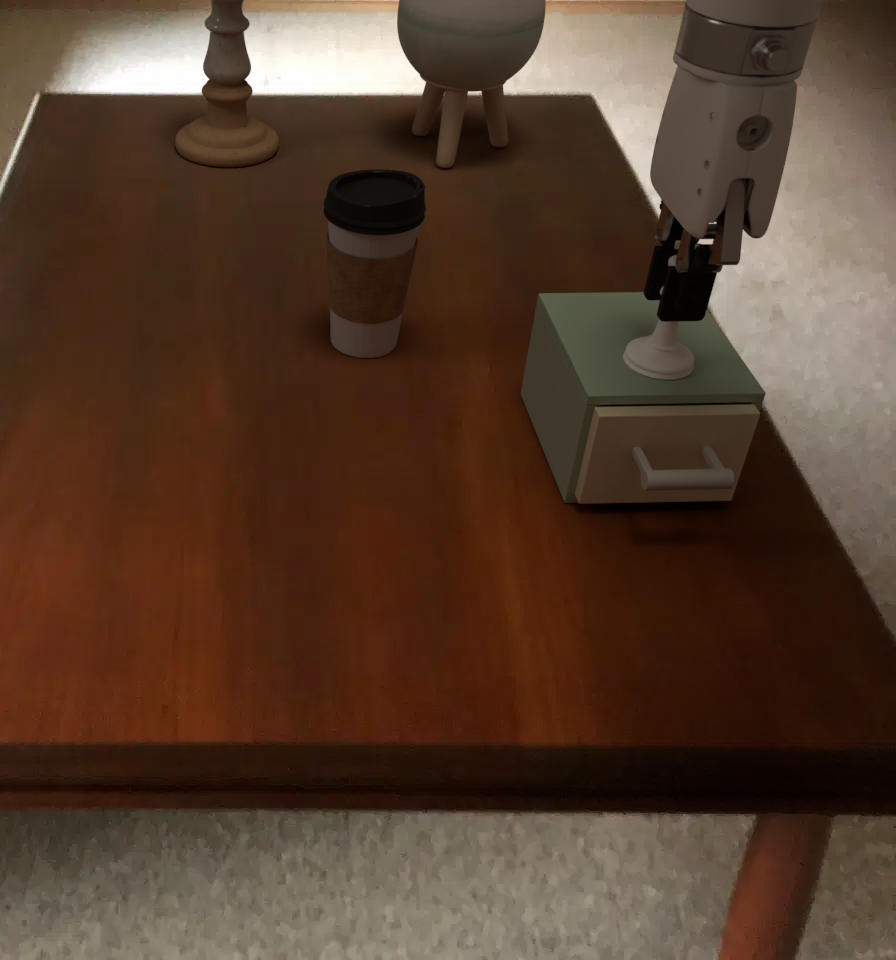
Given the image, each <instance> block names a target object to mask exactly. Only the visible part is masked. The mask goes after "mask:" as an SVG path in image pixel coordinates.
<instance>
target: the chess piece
mask: <svg viewBox="0 0 896 960" xmlns="http://www.w3.org/2000/svg"><path fill="white" fill-rule="evenodd" d="M700 244H701V243H699V242H698V243H696V244H695V248H696V247H698V246H699V245H700ZM679 245H680V241H678V240H676V242H675V246H674V249H679ZM695 248H694V249H695ZM676 257H677V255H674V256H672V257H670V258H669V260H668V266H675V262H676ZM663 287H664V286H663ZM663 287H662V288H661V289H660V294H662V291H663ZM677 327H678V321H669V322H663V321H660V320H659V321H658V323H657V326H656V328H655V330H654V333H653V334H652V335H650V336H645V337H640V338H636V339H634V340H632V341H631V342H630V343H629V344H628V345H627V347H626V350H625V352H624V354H623V359H624V361H625V363H626V364H627V366H628V367H630V368H631V369H632V370H634V371H635V372H637V373H639V374H641V375H644V376H647V377H650V378H655V379H661V380H674V379H680V378H683V377H686V376H688V375H689V374H690V373H691V372H692V371H693V368H694V365H693V364H694V355H693V353H692V352H691V351H690V350H689V349H688V348H687V347H686V346H685V345H683V344H681V343H679V341H678V340H677V339H676V337H677Z"/></svg>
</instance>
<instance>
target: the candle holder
mask: <svg viewBox="0 0 896 960" xmlns="http://www.w3.org/2000/svg"><path fill="white" fill-rule="evenodd" d="M209 1H210V5H211V11H210V14H209V16H207V18H205V20H204V27H205V28H206V29H207V30H208V31H209V39H208V45H207V49H206V54H205V56H204V61H203V63H202V69H203V70H202V71H203V74H204V76H206V78H207V79H208V80H207V81H206V82H205V84H203V86H202V87H201V95H202V96H203V97H204V98H205V100H206V101H207V110H206V114H205V115H202V116H199V117H197V118H196V119H194V120H193V121H191V122H190V123H188V124H186V125H184V126H182V127H181V128H180V129H179V130H178V132H177V133H176V135H175V139H174V145H175V148H176V151H177V152H178V153H179V155H180V156H181V157H183V158H184V159H186V160H188V161H191V162H192V163H196V164H200V165H204V166H209V167H216V168H240V167H247V166H252V165H256V164H259V163H263V162H265V161H267V160H269V159H271V158H272V157H274V156H275V155H276V153H277V152H278V150H279V147H280V138H279V135H278V134H277V132H276V131H275V130H274V129H273V128H272V127H271V126H269V125H268V124H266V123H263V121H261V120H260V119H259V118H256V117H254V116H251V115H248V108H247V101H249V99H250V98H251V97H252V95H253V87H252V86H251V84H249V82H248V81H247V80H246V79H247V78H248V77H249V76H250V74H251V71H252V63H251V59H250V56H249V53H248V49H247V45H246V39H245V31H247V30H248V29H249V27H250V21H249V19H248V18H247V17H246V16H245V15H244V12H243V5H244V3H245V0H209Z"/></svg>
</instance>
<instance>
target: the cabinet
mask: <svg viewBox="0 0 896 960" xmlns="http://www.w3.org/2000/svg"><path fill="white" fill-rule="evenodd" d="M643 293H644V291H633V292H632V291H625V292H624V291H622V292H620V291H618V292H616V291H615V292H611V291H609V292H539V293H538V294H537V300H536V306H535V312H534V315H533V316H534V317H533V322H532V328H531V333H530V339H529V344H528V350H527V355H526V361H525V365H524V366H525V367H524V370H523V371H524V372H523V377H522V384H521V389H520V397H521V399H522V401H523V404H524V407H525V409H526V411H527V414H528V417H529V419H530V421H531V424H532V426H533V428H534V431H535V434H536V437H537V439H538V441H539V444H540V446H541V448H542V451H543V454H544V456H545V459H546V461H547V463H548V466H549V468H550V471H551V473H552V476H553V479H554V480H555V483H556V484H557V488H558V490H559V493H560V496H561V498H562V500H563V502H564V504H579V503H578V500H577V498H576V496H575V491H576V487H577V482H578V478H579V473H580V469H581V465H582V460H583V456H584V452H585V447H586V443H587V439H588V434H589V430H590V426H591V421H592V417H593V413H594V408H595V407H597V405H616V404H677V403H734V405H744V404H754V405H755V406H756V408H757V409H758V411H759V412H760V413H761V409H762V405H763V403H764V400H765V397H766V395H767V394H766V391H765V390H764V388H763V387H762V386H761V384H760V382H759V381H758V380H757V378H756V377H755V376H754V374H753V372H752V371H751V370H750V368H749V367H748V365H747V364H746V362H744V360H743V358H742V357H741V356H740V354H739V352H738V351H737V350H736V348H735V347H734V345H733V344H732V343H731V340H729V339H728V337H727V335H726V334H725V333H724V331H723V330H722V329H721V327H720V326H719V324H718V323H717V322H716V320H715V318H714V317H713V316H712V314H711V313H710V311H709V310H708V309H707V310H706V314H705V317H704V318H703V319H702V320H700V321H678V327H677V337H676V339H677V340H678V341H679V343H681V344H683V345H685V346H686V347H687V348H688V349H689V350H690V351H691V352H692V353H693V355H694V364H693V365H694V368H693V371H692V372H691V373H690V374H689V375H688V376H686V377H683V378H680V379H674V380H661V379H655V378H650V377H647V376H644V375H641V374H639V373H637V372H635V371H634V370H632V369H631V368H630V367H628V366H627V364H626V363H625V361H624V359H623V354H624V352H625V350H626V347H627V345H628V344H629V343H630V342H631V341H632V340H634V339H636V338H640V337H645V336H650V335H652V334H653V333H654V330H655V328H656V326H657V323H658V321H659V318H658V316H657V310H658V306H659V302H660V300H647V299H646V297H645V296H644V294H643Z"/></svg>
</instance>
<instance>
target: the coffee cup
mask: <svg viewBox="0 0 896 960" xmlns="http://www.w3.org/2000/svg"><path fill="white" fill-rule="evenodd" d="M425 191H426V185H425V182H424V181H423V180H422V179H421V178H420V177H419V176H417V175H416V174H414V173H411V172H408V171H404V170H396V169H362V170H361V169H360V170H354V171H348V172H345V173H341V174H338V175H337V176H335V177H333V178H332V179H331V180H330V181H329V184H328V187H327V191H326V194H325V195H326V196H325V198H324V200H323V214H324V217H325V219H326V220H327V222H328V230H327V232H326V257H327V259H326V260H327V280H328V281H327V282H328V300H329V302H328V303H329V322H330V323H329V324H330V325H329V327H330V342H331V345H332V346H333V347H334V349H336V350H337V351H338V352H339V353H342V354H344V355H347V356H348V357H349V356H350V357H353V358H359V359H374V358H380V357H383V356H386V355H388V354H390V353H391V352H393V351H394V349H395V348H396V346H397V344H398V339H399V333H400V328H401V323H402V317H403V312H404V309H405V304H406V301H407V295H408V291H409V286H410V281H411V276H412V273H413V268H414V266H413V265H414V263H415V259H416V254H417V248H418V243H419V238H418V230H419V226H421V225H422V223H423V222H424V220H425V218H426V211H427V206H426V203H425V202H426V201H425V200H426V199H425V198H426V197H425V196H426V195H425Z"/></svg>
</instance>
